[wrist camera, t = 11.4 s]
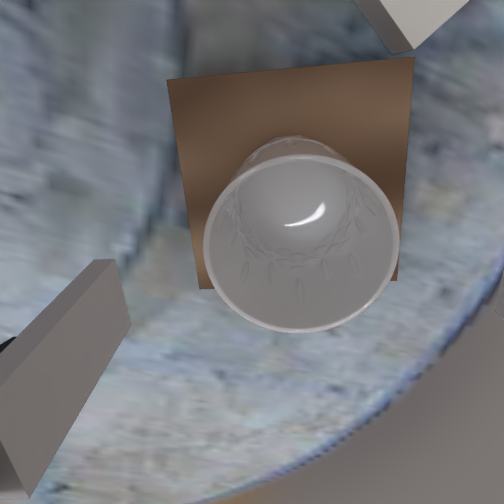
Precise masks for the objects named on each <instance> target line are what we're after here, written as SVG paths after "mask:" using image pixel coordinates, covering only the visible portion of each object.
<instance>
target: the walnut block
mask: <svg viewBox="0 0 504 504" xmlns="http://www.w3.org/2000/svg"><path fill="white" fill-rule="evenodd" d="M414 59H415V57H405V58H395V59H384V60H373V61H362V62H352V63H341V64H330V65H319V66H309V67H298V68H287V69H276V70H266V71H255V72H244V73H234V74H223V75H212V76H201V77H191V78H180V79H169V80H167V86H168V92H169V99H170V105H171V111H172V118H173V124H174V130H175V137H176V143H177V149H178V155H179V162H180V168H181V174H182V181H183V187H184V193H185V200H186V206H187V212H188V219H189V225H190V231H191V238H192V244H193V250H194V256H195V263H196V269H197V275H198V282H199V288H200V289H215V288H214V286H213V284H212V282H211V280H210V278H209V275H208V273H207V270H206V266H205V261H204V255H203V237H204V231H205V226H206V222H207V219H208V216H209V214H210V212H211V209H212V207H213V205H214V204H215V202H216V200H217V199H218V197H219V196H220V195H221V193H222V192H223V190H224V189H225V187H226V186H227V184H228V183H229V181H230V180H231V178H232V177H233V176H234V174H235V172H236V171H237V170H238V168H239V167H240V166H241V165H242V164H243V162H244V161H245V160H246V159H247V158H248V157H249V156H250V155H251V154H252V153H253V151H254V150H256V149H257V148H259V147H260V146H262V145H264V144H265V143H267V142H268V141H270V140H272V139H273V138H275V137H283V136H293V135H303V136H305V137H308V138H310V139H313V140H316V141H319V142H321V143H323V144H325V145H327V146H329V147H330V148H332V149H334V150H335V151H336V152H338V153H339V154H341V155H342V156H343V157H345V158H346V159H347V160H348V161H349V162H351V163H352V164H353V165H354V166H356V167H357V168H358V169H359V170H361V171H362V172H363V173H364V174H366V175H367V176H368V177H369V178H370V179H372V180H373V181H374V182H375V183H376V184H377V185H378V187H379V188H380V189H381V190H382V191H383V193H384V194H385V196H386V197H387V199H388V200H389V202H390V204H391V206H392V208H393V210H394V213H395V216H396V219H397V223H398V228H399V237H400V236H401V223H402V210H403V198H404V185H405V172H406V160H407V147H408V134H409V122H410V109H411V96H412V84H413V71H414ZM399 248H400V246H399ZM398 261H399V255H398V260H397V264H396V267H395V270H394V273H393V275H392V277H391V279H390V281H397V274H398Z"/></svg>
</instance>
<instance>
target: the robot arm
mask: <svg viewBox="0 0 504 504" xmlns="http://www.w3.org/2000/svg"><path fill="white" fill-rule="evenodd" d="M495 311H496V313H497V314H498V315H499V316H500V317H501V318H502V319H503V320H504V270H503V275H502V279H501V284H500V289H499V294H498V299H497V304H496V309H495ZM130 326H131V321H130V317H129V313H128V309H127V305H126V301H125V297H124V293H123V289H122V285H121V281H120V277H119V273H118V269H117V265H116V261H115V259H102V260H93V261H92V262H91V263H90V264H89V265H88V266H87V267H86V268H85V269H84V270H83V271H82V272H81V273H80V274H79V275H78V276H77V277H76V278H75V279H74V280H73V281H72V282H71V283H70V284H69V285H68V286H67V287H66V288H65V289H64V290H63V291H62V292H61V293H60V294H59V295H58V296H57V297H56V298H55V299H54V300H53V301H52V302H51V303H50V304H49V305H48V306H47V307H46V308H45V309H44V310H43V311H42V312H41V313H40V314H39V315H38V316H37V317H36V318H35V319H34V320H33V321H32V322H31V323H30V324H29V325H28V326H27V327H26V328H25V329H24V330H23V331H22V332H21V333H20V334H19V335H18V336H17V337H12V338H11V339H9V340H7V341H6V342H4V343H3V344H1V345H0V498H20V499H29V498H30V496H31V495H32V493H33V491H34V490H35V488H36V486H37V484H38V483H39V481H40V479H41V478H42V476H43V474H44V473H45V471H46V469H47V467H48V466H49V464H50V462H51V461H52V459H53V457H54V455H55V454H56V452H57V450H58V449H59V447H60V445H61V444H62V442H63V440H64V438H65V437H66V435H67V433H68V432H69V430H70V428H71V427H72V425H73V423H74V421H75V420H76V418H77V416H78V415H79V413H80V411H81V409H82V408H83V406H84V404H85V403H86V401H87V399H88V398H89V396H90V394H91V392H92V391H93V389H94V387H95V386H96V384H97V382H98V381H99V379H100V377H101V375H102V374H103V372H104V370H105V369H106V367H107V365H108V363H109V362H110V360H111V358H112V357H113V355H114V353H115V352H116V350H117V348H118V346H119V345H120V343H121V341H122V340H123V338H124V336H125V335H126V333H127V331H128V329H129V328H130Z"/></svg>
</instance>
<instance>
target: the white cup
mask: <svg viewBox="0 0 504 504" xmlns="http://www.w3.org/2000/svg"><path fill="white" fill-rule="evenodd" d="M399 246H400V237H399V228H398V223H397V219H396V216H395V213H394V210H393V208H392V206H391V204H390V202H389V200H388V199H387V197H386V196H385V194H384V193H383V191H382V190H381V189H380V188H379V187H378V185H377V184H376V183H375V182H374V181H373V180H372V179H370V178H369V177H368V176H367V175H366V174H364V173H363V172H362V171H361V170H359V169H358V168H357V167H356V166H354V165H353V164H352V163H351V162H349V161H348V160H347V159H346V158H345V157H343V156H342V155H341V154H339V153H338V152H336V151H335V150H334V149H332V148H330V147H329V146H327V145H325V144H323V143H321V142H319V141H316V140H313V139H310V138H308V137H305V136H303V135H293V136H283V137H275V138H273V139H272V140H270V141H268V142H267V143H265V144H264V145H262V146H260V147H259V148H257V149H256V150H254V151H253V153H252V154H251V155H250V156H249V157H248V158H247V159H246V160H245V161H244V162H243V164H242V165H241V166H240V167H239V168H238V170H237V171H236V172H235V174H234V176H233V177H232V178H231V180H230V181H229V183H228V184H227V186H226V187H225V189H224V190H223V192H222V193H221V195H220V196H219V197H218V199H217V200H216V202H215V204H214V205H213V207H212V209H211V212H210V214H209V216H208V219H207V222H206V226H205V231H204V237H203V255H204V261H205V266H206V270H207V273H208V275H209V278H210V280H211V282H212V284H213V286H214V288H215V289H216V291H217V292H218V294H219V295H220V297H221V298H222V299H223V300H224V301H225V302H226V304H227V305H228V306H229V307H231V308H232V309H233V310H234V311H235V312H236V313H238V314H239V315H241V316H242V317H243V318H245V319H247V320H249V321H250V322H252V323H254V324H257V325H259V326H261V327H264V328H267V329H271V330H275V331H279V332H286V333H312V332H319V331H323V330H327V329H331V328H334V327H337V326H339V325H342V324H344V323H346V322H348V321H350V320H352V319H353V318H355V317H357V316H358V315H360V314H361V313H362V312H364V311H365V310H366V309H367V308H369V307H370V306H371V305H372V304H373V303H374V302H375V301H376V300H377V299H378V297H379V296H380V295H381V294H382V292H383V291H384V290H385V288H386V287H387V285H388V283H389V281H390V279H391V277H392V275H393V273H394V270H395V267H396V264H397V260H398V255H399Z"/></svg>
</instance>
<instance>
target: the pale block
mask: <svg viewBox="0 0 504 504" xmlns="http://www.w3.org/2000/svg"><path fill="white" fill-rule="evenodd" d="M353 1H354V2H355V4H356V5H357V7H358V8H359V9H360V11H361V12H362V14H363V15H364V16H365V18H366V19H367V21H368V22H369V23H370V25H371V26H372V27H373V29H374V30H375V32H376V33H377V34H378V36H379V37H380V39H381V40H382V41H383V43H384V44H385V46H386V47H387V48H388V50H389V51H390V53H391V54H396V53H401V52H406V51H410V50H414V49H416V48H417V47H418V46H419V45H420V44H421V43H422V42H423V41H424V40H426V39H427V38H428V37H429V36H430V35H431V34H432V33H433V32H435V31H436V30H437V29H438V28H439V27H440V26H441V25H442V24H443V23H445V22H446V21H447V20H448V19H449V18H450V17H451V16H452V15H454V14H455V13H456V12H457V11H458V10H459V9H460V8H461V7H462V6H464V5H465V4H466V3H467V2H468V1H469V0H353Z"/></svg>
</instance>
